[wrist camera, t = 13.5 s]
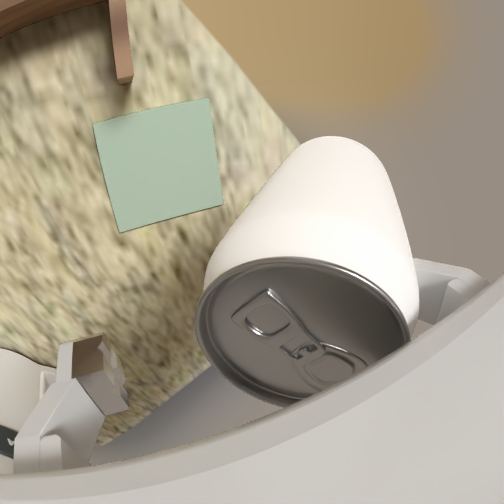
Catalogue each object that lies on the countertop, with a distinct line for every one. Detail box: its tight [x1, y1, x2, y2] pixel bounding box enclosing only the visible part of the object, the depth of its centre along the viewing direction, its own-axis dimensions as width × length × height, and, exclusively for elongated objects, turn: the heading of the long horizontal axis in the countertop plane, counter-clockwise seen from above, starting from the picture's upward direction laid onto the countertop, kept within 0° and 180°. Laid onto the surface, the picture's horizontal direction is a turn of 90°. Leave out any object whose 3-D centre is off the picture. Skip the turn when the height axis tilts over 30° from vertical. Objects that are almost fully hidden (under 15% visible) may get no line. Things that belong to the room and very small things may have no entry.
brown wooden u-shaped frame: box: [0, 0, 134, 85], centre depth 16 cm, size 10×17×6 cm, turn 96°
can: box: [194, 136, 419, 408], centre depth 12 cm, size 6×6×12 cm
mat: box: [93, 98, 224, 232], centre depth 28 cm, size 11×11×1 cm
